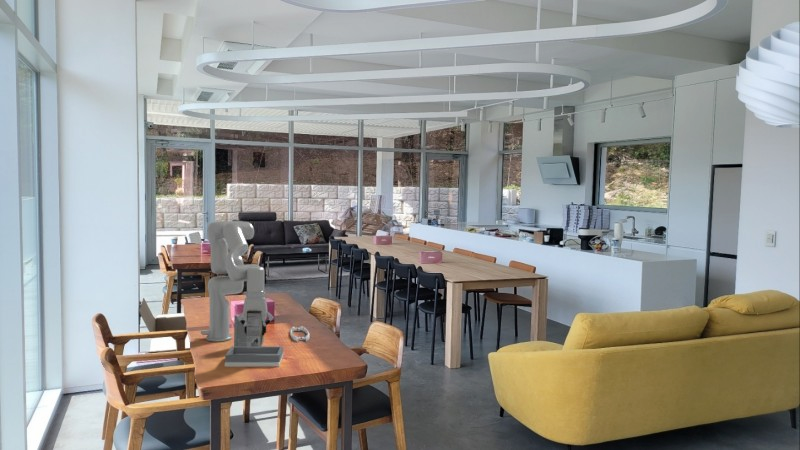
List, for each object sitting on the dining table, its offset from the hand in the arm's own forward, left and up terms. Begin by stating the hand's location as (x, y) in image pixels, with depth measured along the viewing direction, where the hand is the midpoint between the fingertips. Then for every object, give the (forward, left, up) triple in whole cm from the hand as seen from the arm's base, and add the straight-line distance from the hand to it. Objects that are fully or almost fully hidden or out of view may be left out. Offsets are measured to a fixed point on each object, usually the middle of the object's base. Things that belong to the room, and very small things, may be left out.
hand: (255, 334), depth 249 cm
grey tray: (0, 0, -12) cm, 12 cm away
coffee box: (0, 0, -5) cm, 5 cm away
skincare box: (-9, +20, -12) cm, 25 cm away
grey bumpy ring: (+16, +42, -13) cm, 47 cm away
